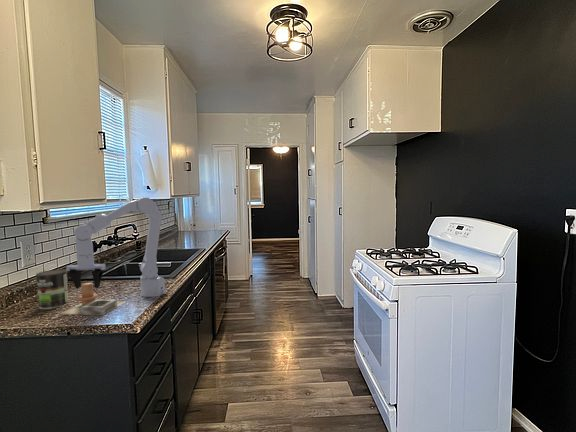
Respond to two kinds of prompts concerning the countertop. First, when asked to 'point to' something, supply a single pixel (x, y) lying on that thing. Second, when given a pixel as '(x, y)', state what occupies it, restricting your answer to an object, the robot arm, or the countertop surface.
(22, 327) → the countertop surface
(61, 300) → the coffee can
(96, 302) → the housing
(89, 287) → the end cover
